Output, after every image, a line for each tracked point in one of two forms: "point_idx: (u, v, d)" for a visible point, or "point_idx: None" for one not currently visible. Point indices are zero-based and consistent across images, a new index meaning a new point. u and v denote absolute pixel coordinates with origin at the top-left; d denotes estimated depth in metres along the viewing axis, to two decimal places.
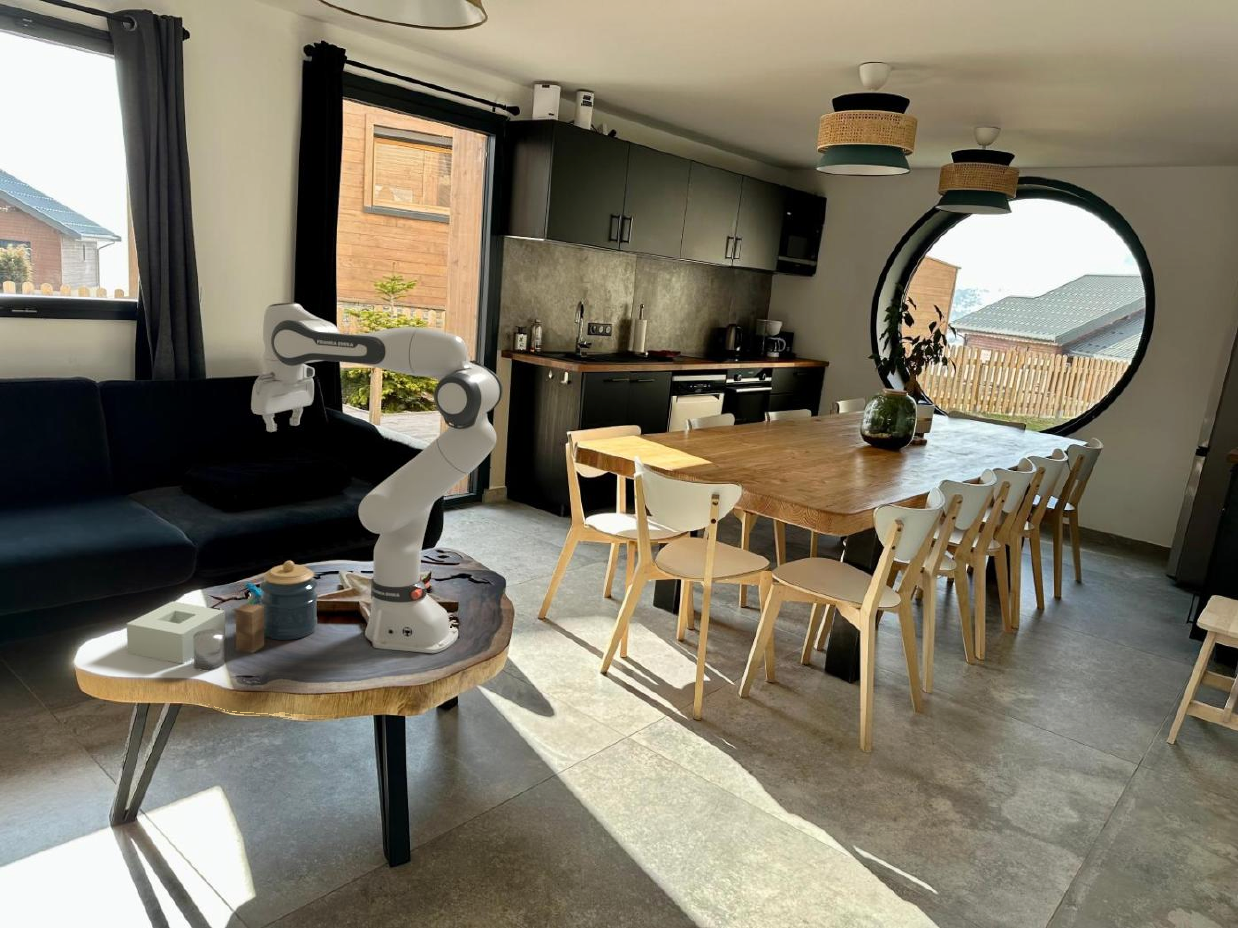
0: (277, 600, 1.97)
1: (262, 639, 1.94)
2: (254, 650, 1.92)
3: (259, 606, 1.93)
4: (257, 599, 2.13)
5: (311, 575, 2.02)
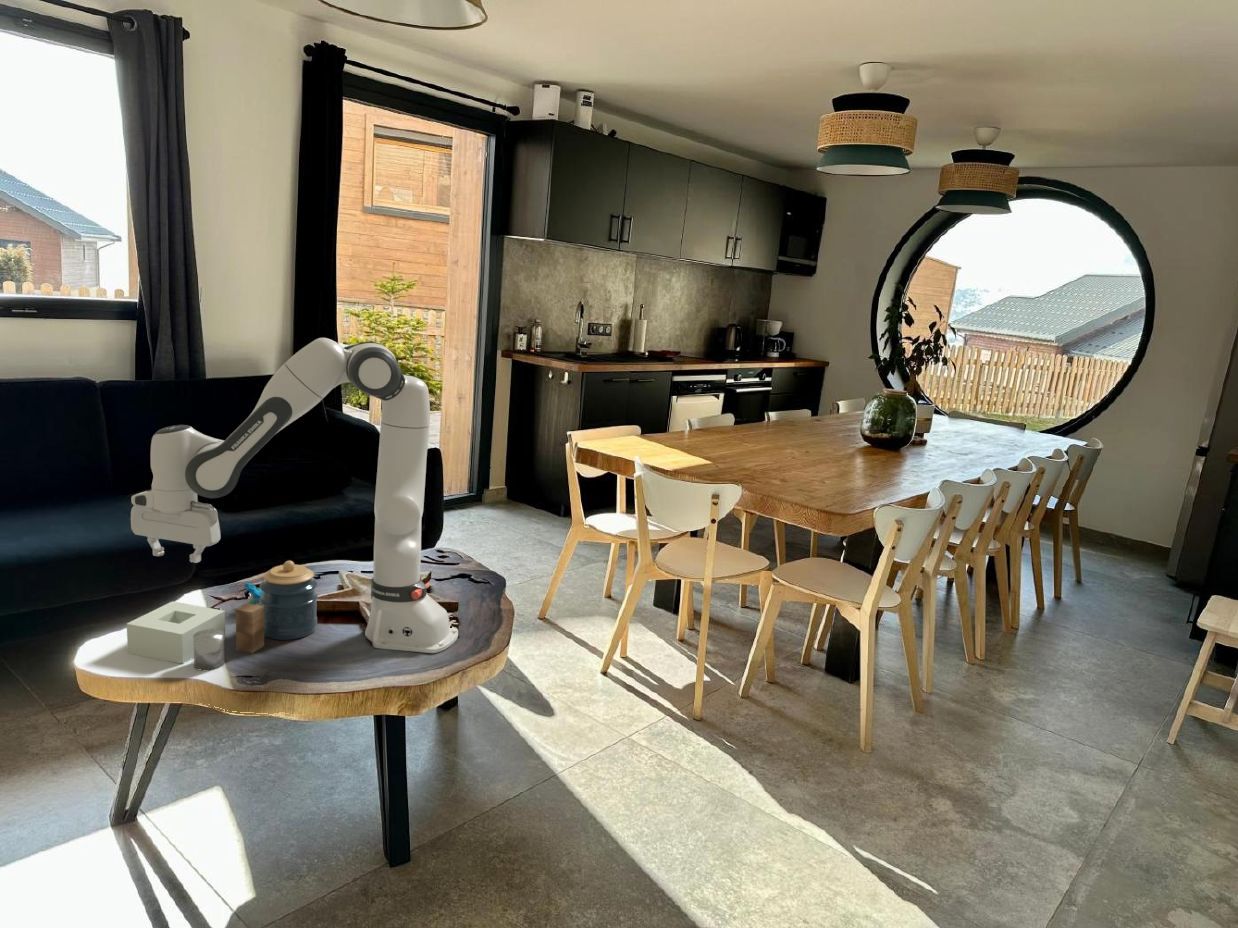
0: (277, 601, 1.97)
1: (262, 639, 1.94)
2: (254, 650, 1.92)
3: (259, 606, 1.93)
4: (256, 599, 2.13)
5: (311, 575, 2.02)
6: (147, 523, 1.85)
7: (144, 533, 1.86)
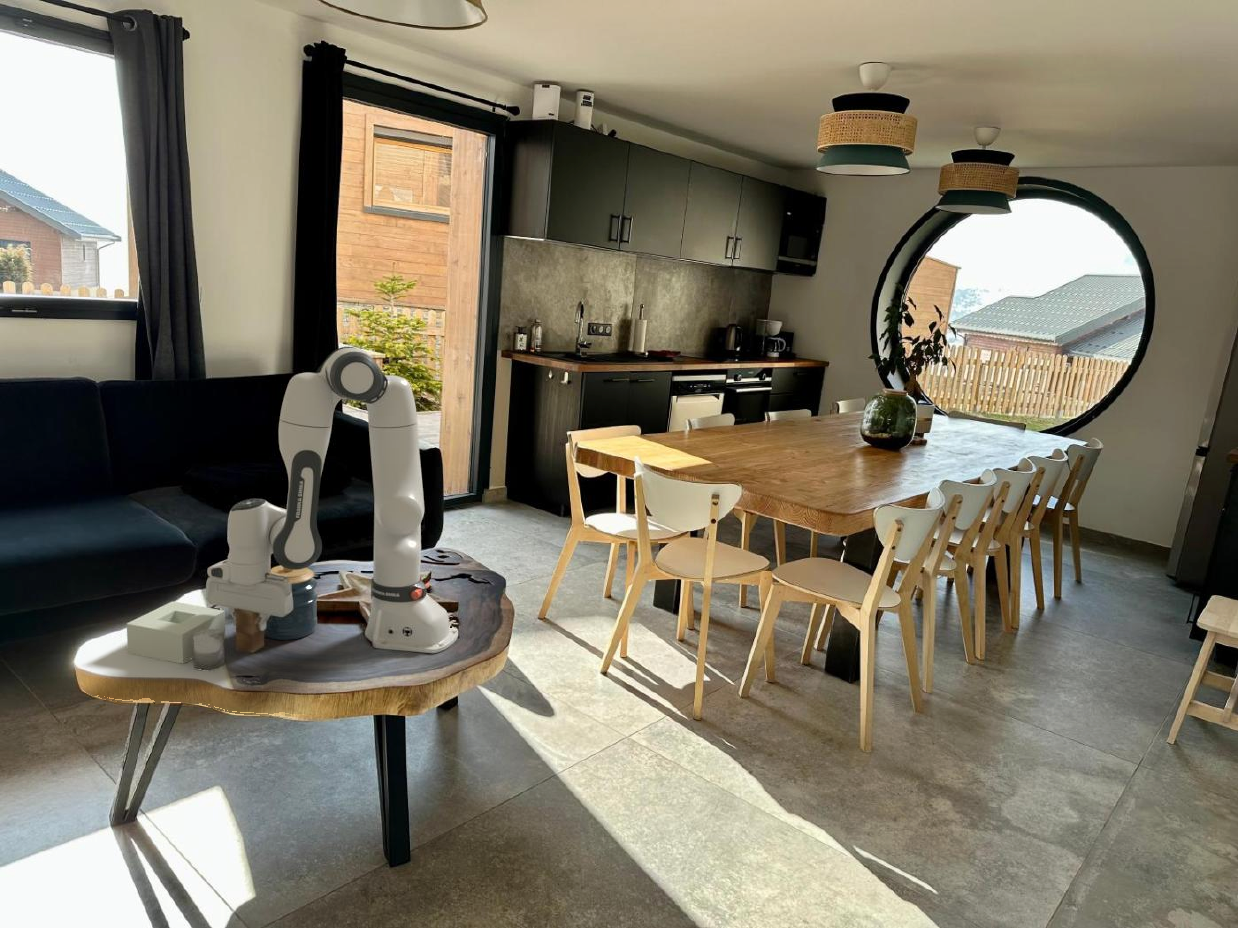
0: None
1: (262, 639, 1.94)
2: (254, 650, 1.92)
3: None
4: None
5: (311, 575, 2.02)
6: (222, 594, 1.90)
7: (219, 603, 1.91)
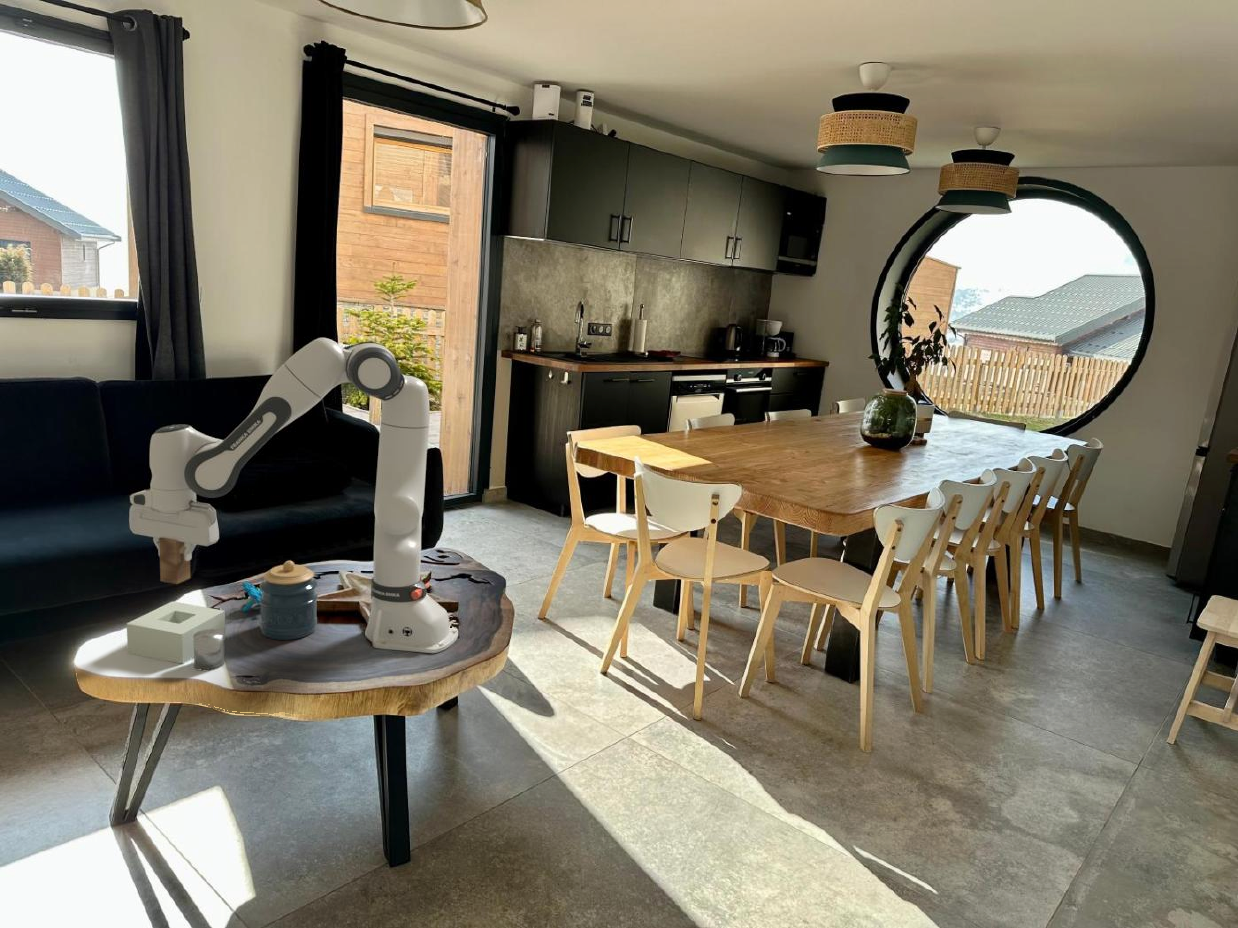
0: (277, 600, 1.97)
1: (188, 571, 1.89)
2: (179, 581, 1.86)
3: None
4: (253, 599, 2.13)
5: (311, 575, 2.02)
6: (146, 522, 1.85)
7: (142, 532, 1.86)
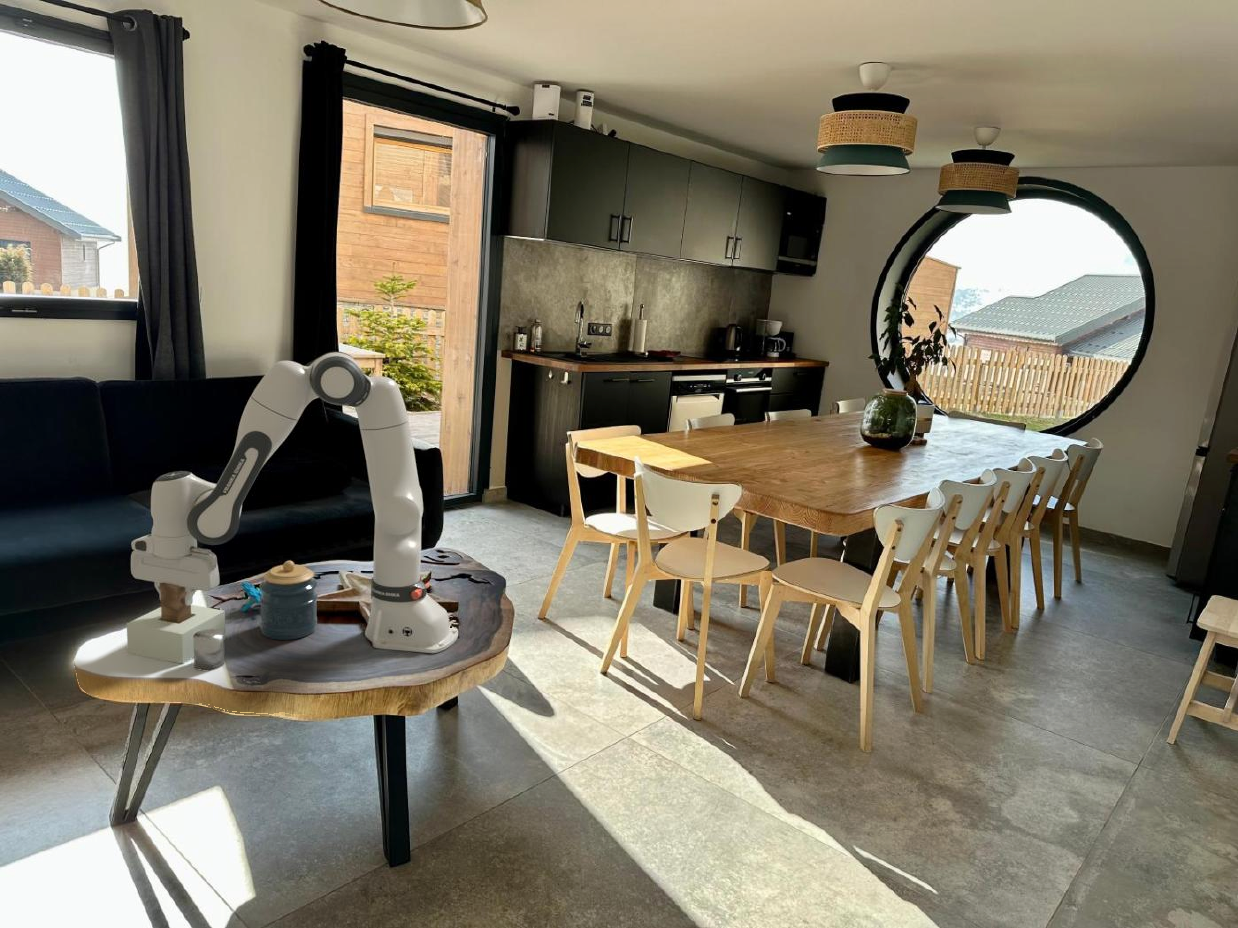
0: (277, 600, 1.97)
1: (189, 614, 1.91)
2: None
3: None
4: (252, 599, 2.12)
5: (311, 575, 2.02)
6: (147, 567, 1.87)
7: (144, 577, 1.88)
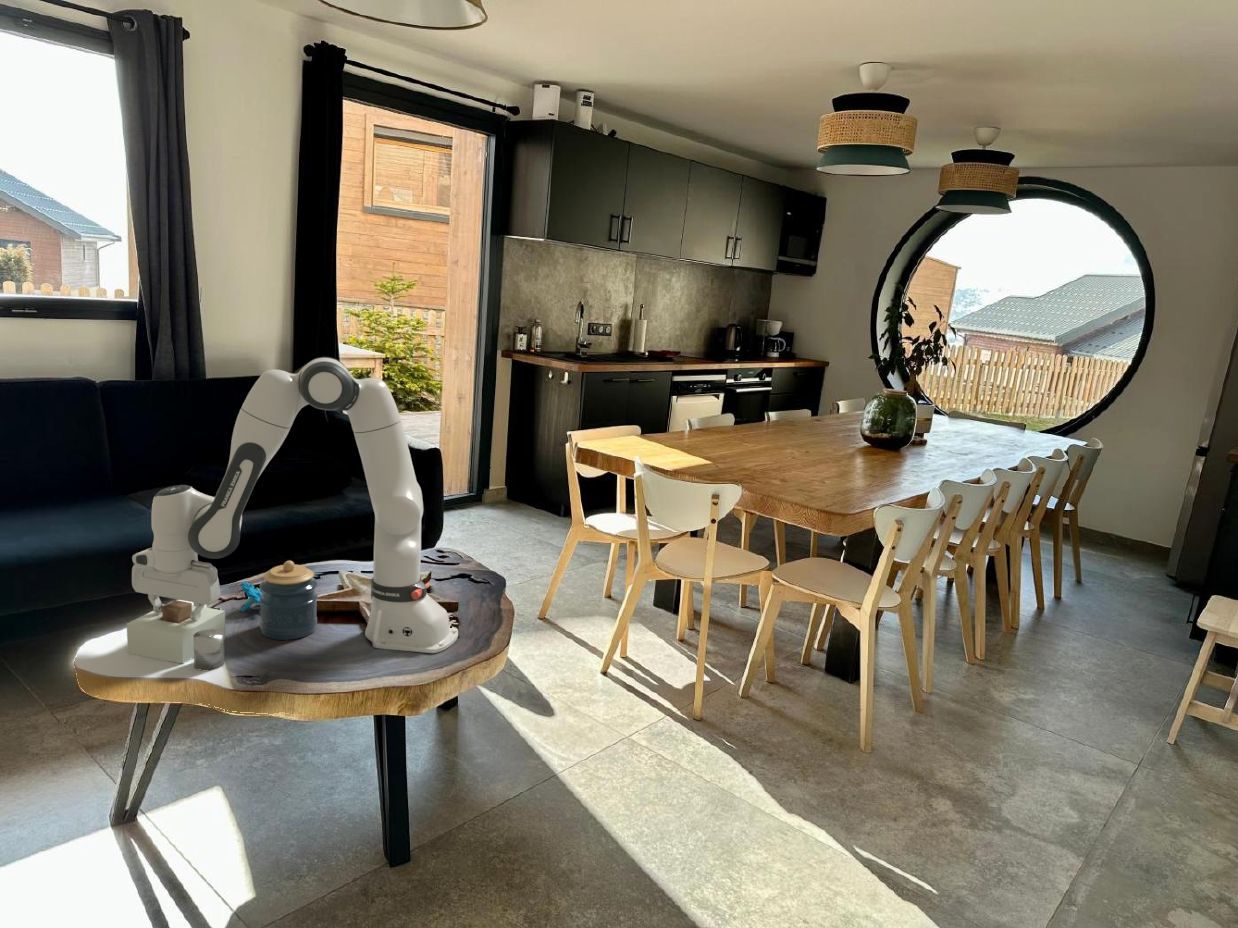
0: (277, 601, 1.97)
1: None
2: None
3: (186, 603, 1.91)
4: (252, 599, 2.12)
5: (311, 575, 2.02)
6: (148, 581, 1.88)
7: (145, 591, 1.89)
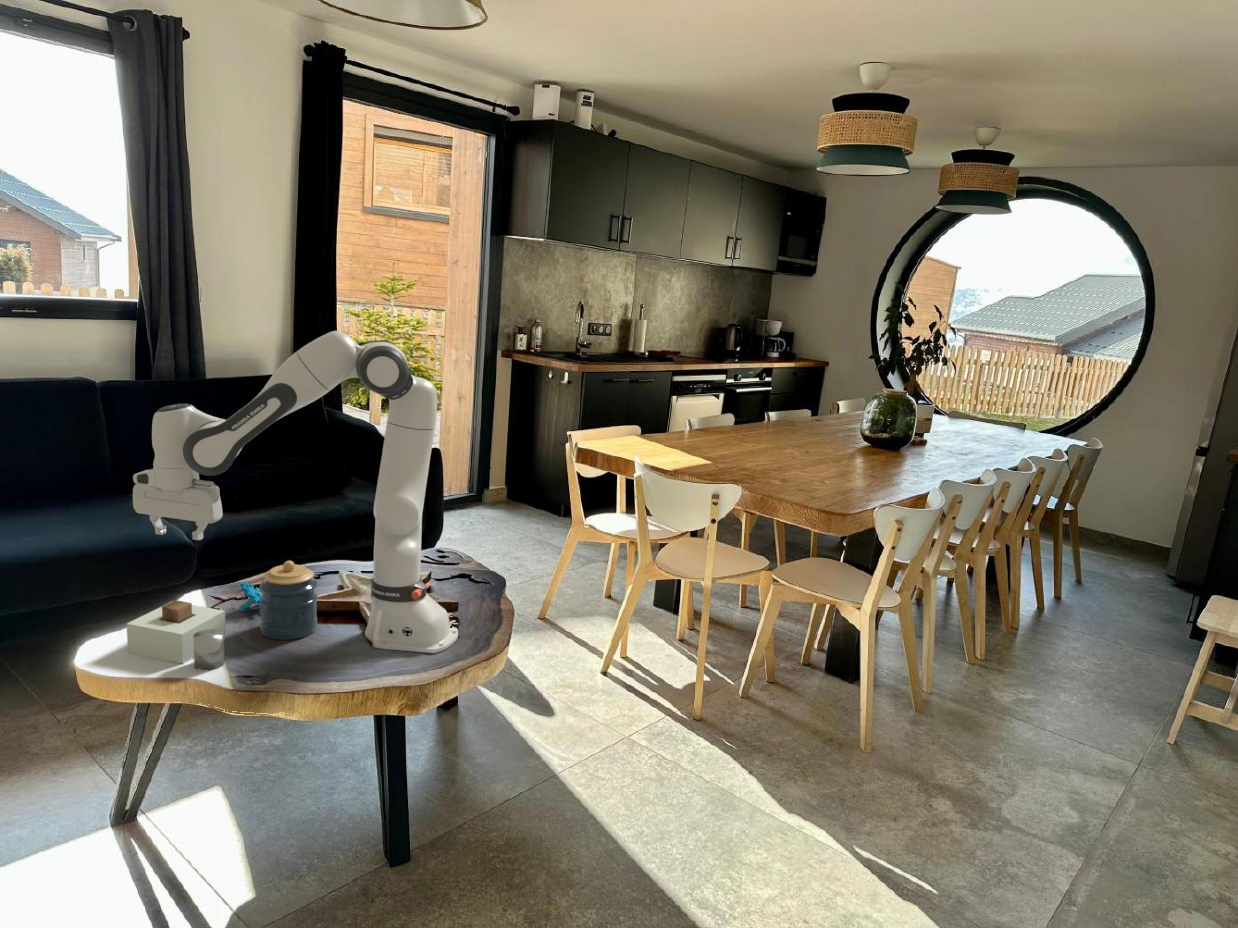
0: (277, 601, 1.97)
1: None
2: None
3: (186, 603, 1.91)
4: (251, 599, 2.12)
5: (311, 575, 2.02)
6: (150, 501, 1.87)
7: (146, 511, 1.87)
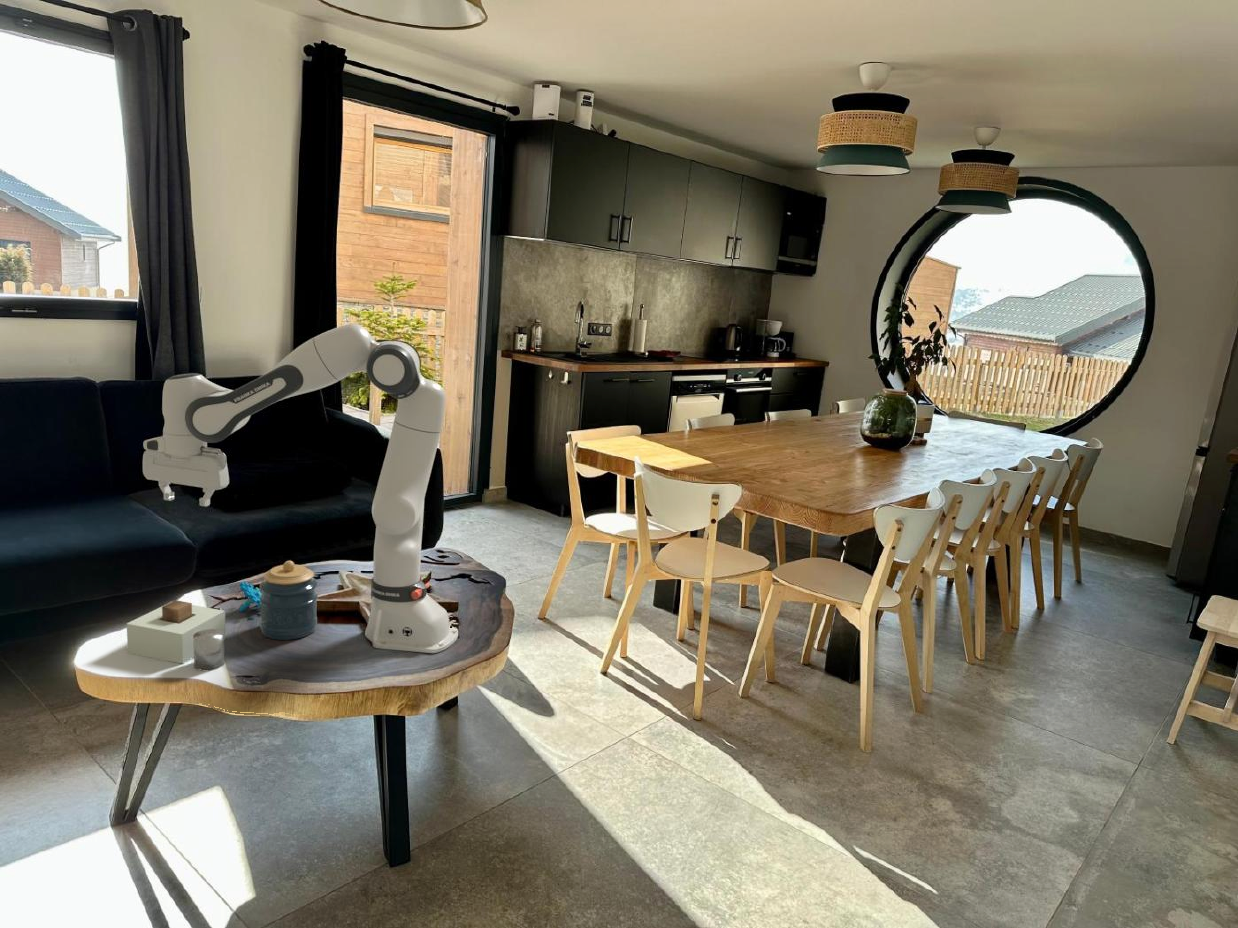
0: (277, 601, 1.97)
1: None
2: None
3: (187, 603, 1.91)
4: (250, 599, 2.12)
5: (311, 575, 2.02)
6: (159, 468, 1.92)
7: (155, 478, 1.93)
